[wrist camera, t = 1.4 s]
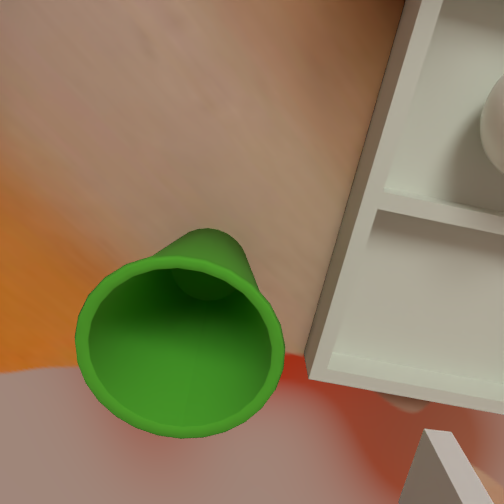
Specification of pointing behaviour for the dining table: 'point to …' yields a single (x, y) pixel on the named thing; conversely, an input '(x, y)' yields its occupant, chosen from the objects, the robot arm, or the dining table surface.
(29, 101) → the dining table surface
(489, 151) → the white ball
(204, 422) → the cup
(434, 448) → the robot arm
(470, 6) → the tray
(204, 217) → the dining table surface
